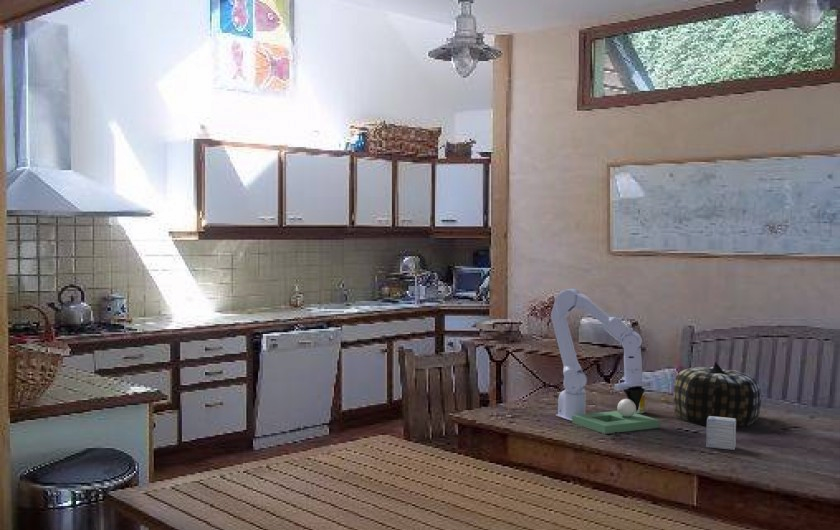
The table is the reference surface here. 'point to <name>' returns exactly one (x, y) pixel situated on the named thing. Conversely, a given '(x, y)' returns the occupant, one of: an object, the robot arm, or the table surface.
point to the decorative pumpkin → (716, 395)
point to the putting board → (614, 422)
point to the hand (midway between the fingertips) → (634, 409)
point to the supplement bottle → (641, 404)
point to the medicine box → (721, 432)
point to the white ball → (626, 407)
